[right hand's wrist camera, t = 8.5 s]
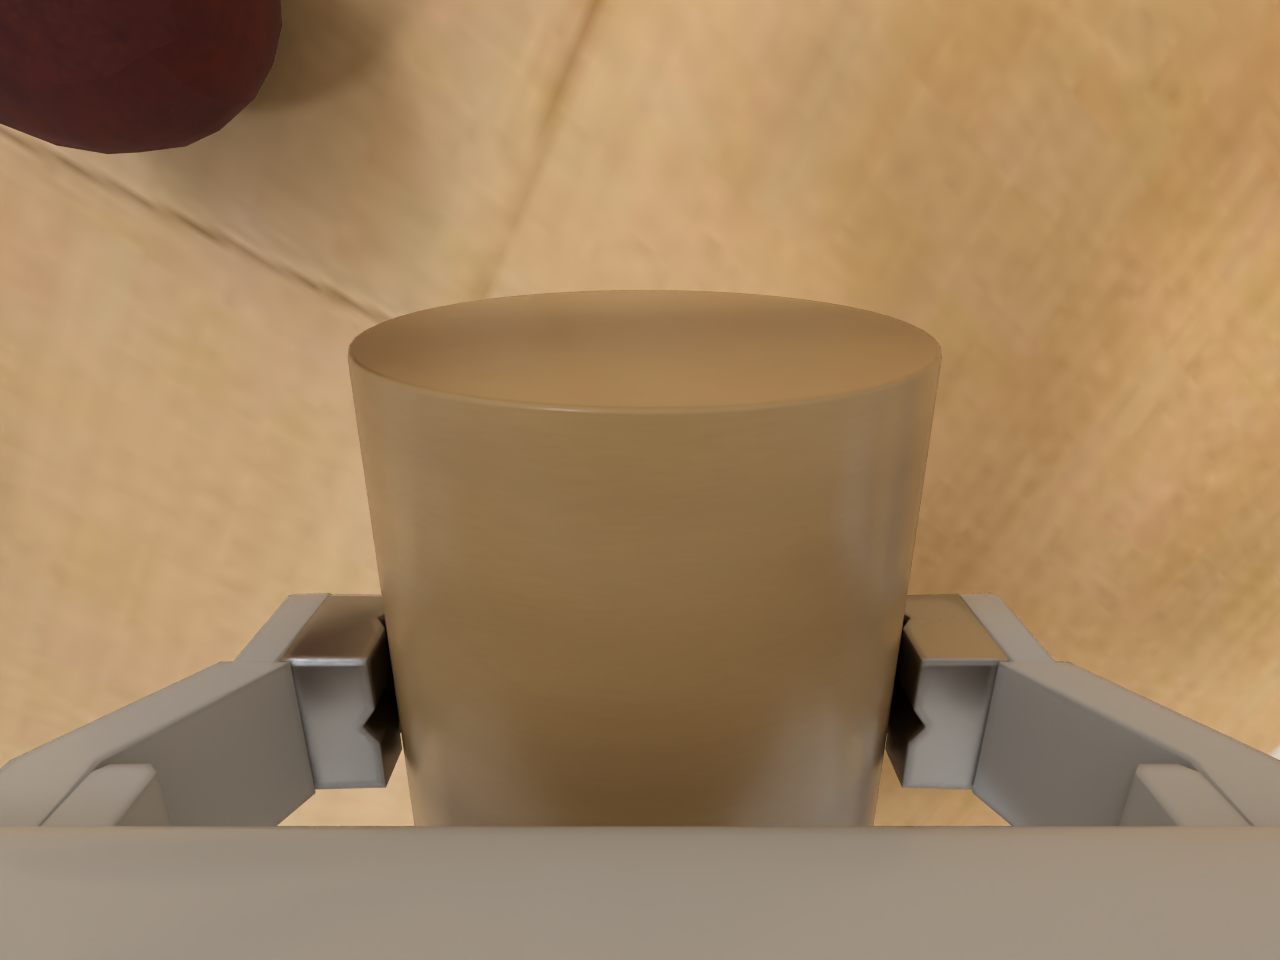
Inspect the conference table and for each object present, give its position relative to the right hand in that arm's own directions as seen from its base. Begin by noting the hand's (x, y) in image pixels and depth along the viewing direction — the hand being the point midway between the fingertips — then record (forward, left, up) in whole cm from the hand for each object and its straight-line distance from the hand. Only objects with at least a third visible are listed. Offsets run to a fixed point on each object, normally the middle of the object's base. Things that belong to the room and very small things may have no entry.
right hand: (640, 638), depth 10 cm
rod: (+8, 0, -3) cm, 8 cm away
